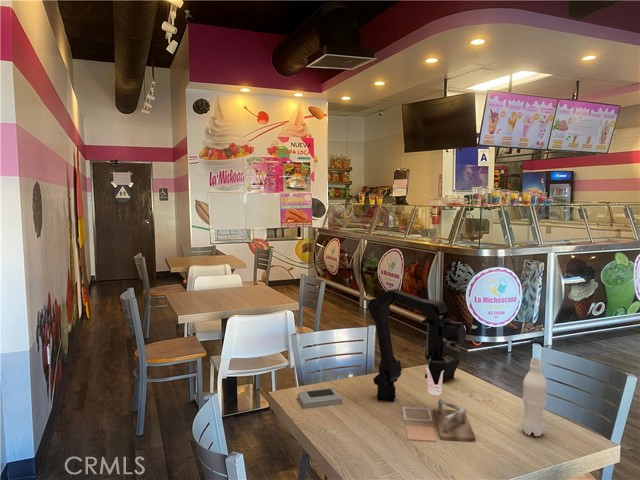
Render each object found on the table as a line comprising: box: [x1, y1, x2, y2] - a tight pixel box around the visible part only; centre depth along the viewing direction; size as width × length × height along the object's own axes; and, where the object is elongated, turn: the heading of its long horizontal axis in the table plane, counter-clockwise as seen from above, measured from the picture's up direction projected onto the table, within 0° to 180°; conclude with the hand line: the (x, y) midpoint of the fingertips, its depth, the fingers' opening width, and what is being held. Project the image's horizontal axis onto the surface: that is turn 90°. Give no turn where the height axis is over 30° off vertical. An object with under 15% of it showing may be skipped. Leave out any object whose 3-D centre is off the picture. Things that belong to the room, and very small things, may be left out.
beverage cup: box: [426, 365, 444, 396], centre depth 169 cm, size 6×6×14 cm
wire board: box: [432, 398, 477, 443], centre depth 163 cm, size 11×20×6 cm, turn 173°
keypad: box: [297, 387, 343, 410], centre depth 183 cm, size 10×4×15 cm
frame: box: [401, 406, 434, 423], centre depth 171 cm, size 10×10×1 cm
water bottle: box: [521, 357, 548, 437], centre depth 157 cm, size 7×7×25 cm
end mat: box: [405, 425, 437, 443], centre depth 158 cm, size 9×9×1 cm
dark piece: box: [424, 357, 461, 384], centre depth 205 cm, size 9×12×10 cm
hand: (434, 380), depth 169 cm, fingers closed on beverage cup, 7 cm apart
